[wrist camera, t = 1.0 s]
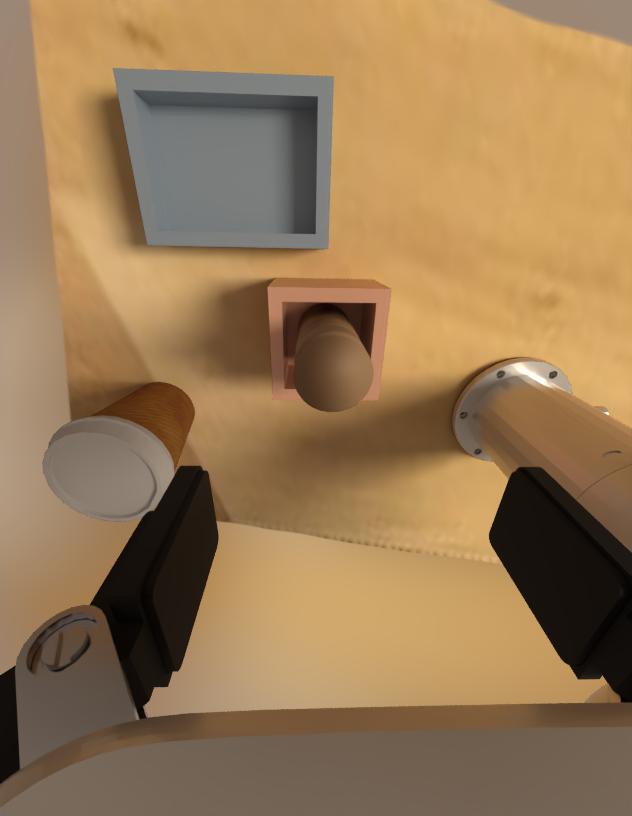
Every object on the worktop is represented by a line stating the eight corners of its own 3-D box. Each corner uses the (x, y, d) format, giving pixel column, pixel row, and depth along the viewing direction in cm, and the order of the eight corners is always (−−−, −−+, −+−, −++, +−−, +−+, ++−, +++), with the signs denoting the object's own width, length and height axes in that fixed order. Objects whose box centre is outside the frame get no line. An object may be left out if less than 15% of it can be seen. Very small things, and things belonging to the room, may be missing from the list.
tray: (330, 98, 24) (333, 76, 21) (325, 248, 28) (328, 248, 25) (138, 91, 24) (112, 68, 20) (165, 245, 28) (147, 245, 25)
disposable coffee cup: (115, 360, 33) (22, 416, 22) (211, 375, 34) (167, 437, 23) (123, 439, 37) (47, 519, 26) (208, 450, 38) (169, 532, 27)
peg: (351, 303, 30) (377, 336, 19) (348, 356, 32) (369, 412, 21) (297, 302, 30) (292, 335, 19) (297, 355, 32) (293, 411, 21)
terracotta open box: (373, 279, 30) (391, 289, 24) (365, 371, 34) (378, 400, 28) (275, 277, 29) (267, 287, 23) (278, 370, 34) (272, 399, 27)
